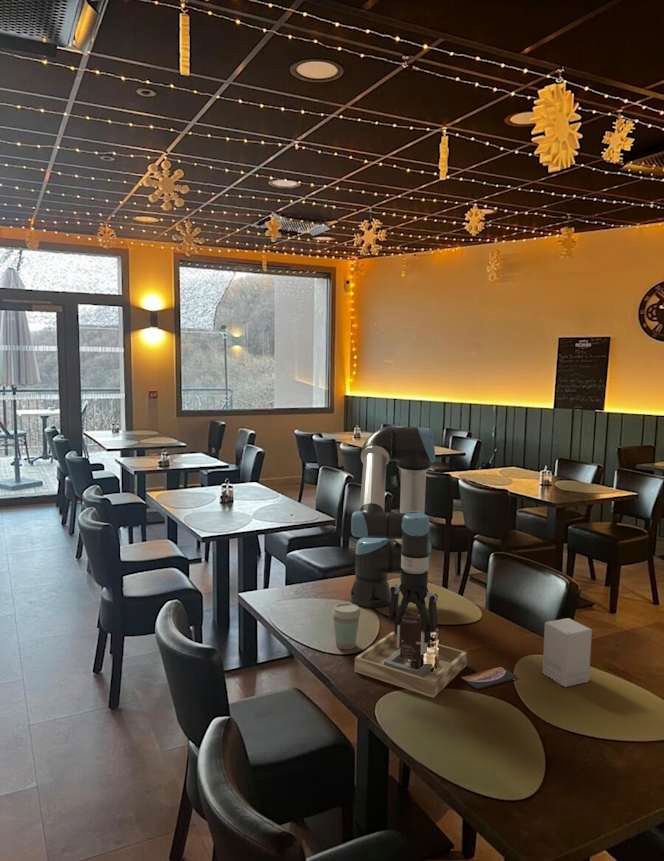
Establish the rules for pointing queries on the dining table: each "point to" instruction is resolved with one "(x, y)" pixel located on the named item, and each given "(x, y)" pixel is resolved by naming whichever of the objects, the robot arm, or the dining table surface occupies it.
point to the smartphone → (488, 678)
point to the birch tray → (386, 647)
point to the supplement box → (567, 652)
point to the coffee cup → (346, 624)
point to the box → (411, 636)
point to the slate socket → (394, 663)
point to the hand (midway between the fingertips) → (411, 649)
